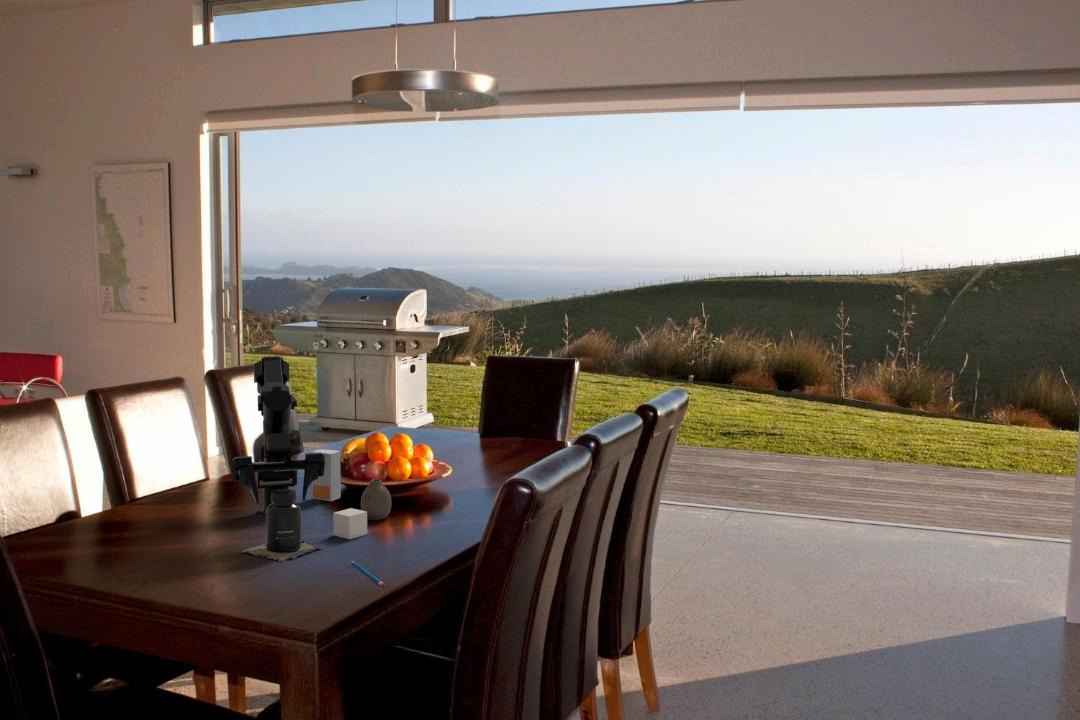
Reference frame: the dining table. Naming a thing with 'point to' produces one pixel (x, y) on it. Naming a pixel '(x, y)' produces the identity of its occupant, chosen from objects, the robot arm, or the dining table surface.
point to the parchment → (263, 552)
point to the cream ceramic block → (350, 523)
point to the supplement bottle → (283, 522)
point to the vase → (376, 500)
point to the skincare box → (328, 477)
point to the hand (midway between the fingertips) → (280, 501)
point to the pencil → (368, 573)
